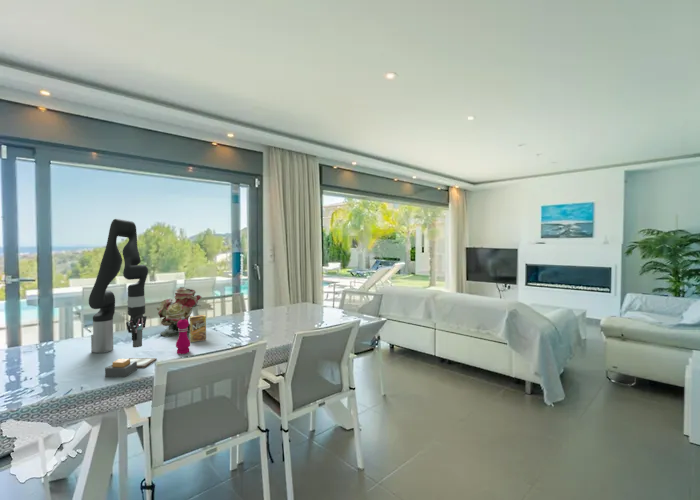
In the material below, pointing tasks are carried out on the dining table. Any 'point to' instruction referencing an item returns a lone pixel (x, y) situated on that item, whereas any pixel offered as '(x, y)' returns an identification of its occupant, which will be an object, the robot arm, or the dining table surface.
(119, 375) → the button housing
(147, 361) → the board
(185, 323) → the pepper mill
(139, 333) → the marker
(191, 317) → the candy box
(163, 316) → the rose bouquet
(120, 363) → the button
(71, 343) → the dining table surface
